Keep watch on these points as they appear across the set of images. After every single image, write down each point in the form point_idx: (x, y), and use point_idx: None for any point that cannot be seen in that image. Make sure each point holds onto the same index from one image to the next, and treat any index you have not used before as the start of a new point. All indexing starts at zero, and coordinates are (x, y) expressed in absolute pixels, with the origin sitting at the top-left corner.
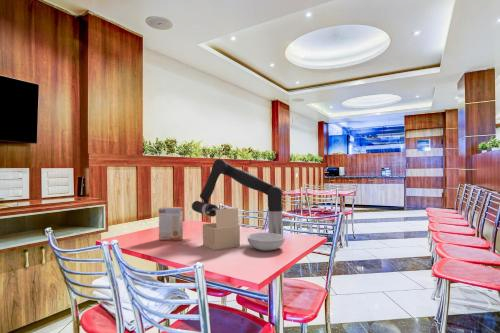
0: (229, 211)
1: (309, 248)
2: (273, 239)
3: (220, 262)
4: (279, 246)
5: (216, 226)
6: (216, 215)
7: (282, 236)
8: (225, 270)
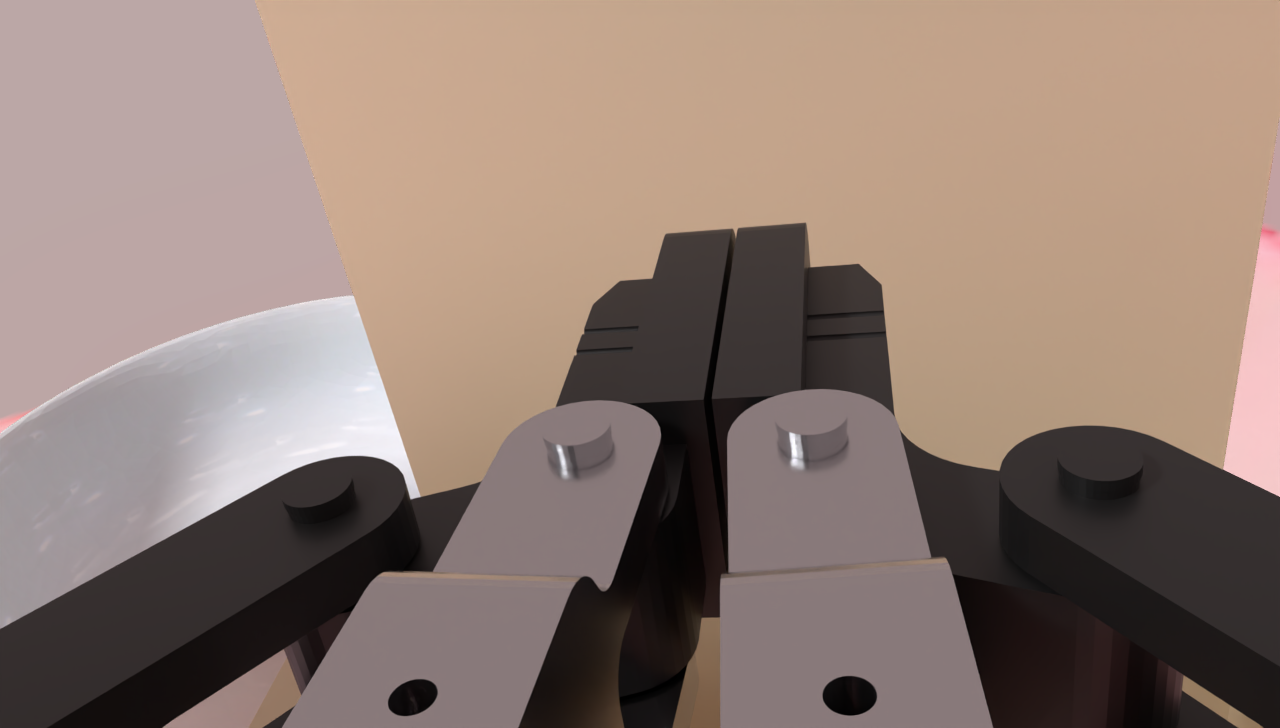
0: (658, 43)
1: (32, 410)
2: (4, 601)
3: (1259, 447)
4: (320, 399)
5: (1225, 443)
6: (1264, 80)
7: (60, 409)
8: (1259, 298)
